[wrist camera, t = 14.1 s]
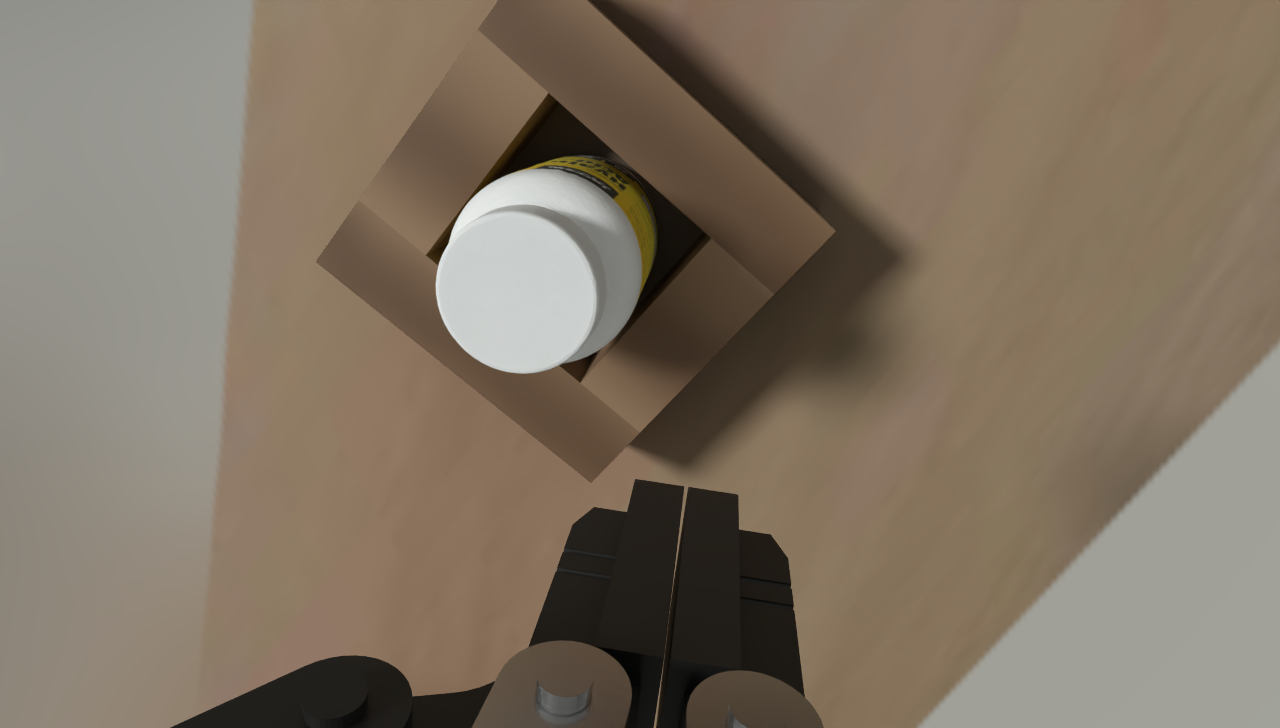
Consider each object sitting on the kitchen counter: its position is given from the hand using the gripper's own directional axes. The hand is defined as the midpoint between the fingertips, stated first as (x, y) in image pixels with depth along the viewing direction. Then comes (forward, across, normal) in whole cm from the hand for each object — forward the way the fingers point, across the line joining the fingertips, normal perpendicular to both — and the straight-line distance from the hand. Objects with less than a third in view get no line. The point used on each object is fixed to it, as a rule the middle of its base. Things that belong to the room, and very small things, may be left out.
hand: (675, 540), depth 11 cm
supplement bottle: (+17, +5, -1) cm, 18 cm away
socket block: (+18, +5, -1) cm, 19 cm away
